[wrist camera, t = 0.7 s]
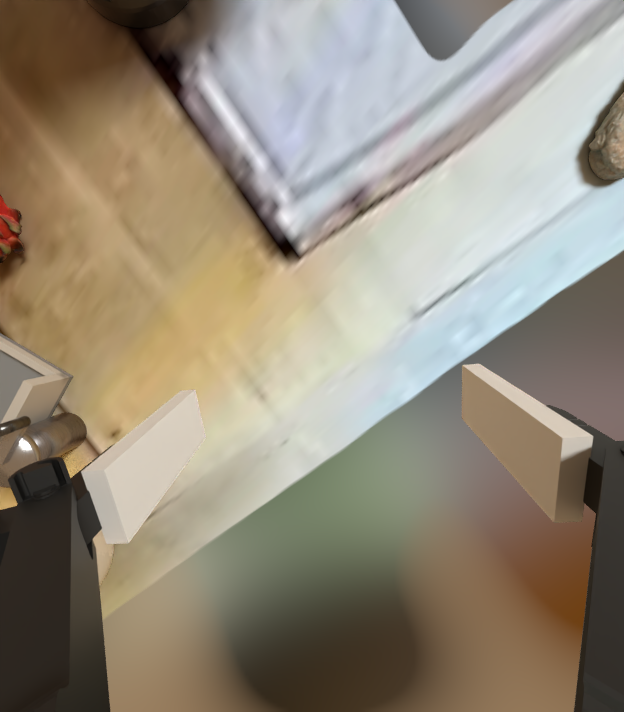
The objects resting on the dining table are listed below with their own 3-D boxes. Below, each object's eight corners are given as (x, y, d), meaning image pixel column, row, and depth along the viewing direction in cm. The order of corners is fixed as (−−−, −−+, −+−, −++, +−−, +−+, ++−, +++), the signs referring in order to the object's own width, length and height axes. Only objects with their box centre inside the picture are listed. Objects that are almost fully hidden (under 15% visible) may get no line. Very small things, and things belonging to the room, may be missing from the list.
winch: (36, 437, 43) (-69, 482, 31) (65, 383, 42) (-31, 409, 30) (78, 461, 43) (-10, 515, 31) (108, 408, 42) (29, 443, 30)
